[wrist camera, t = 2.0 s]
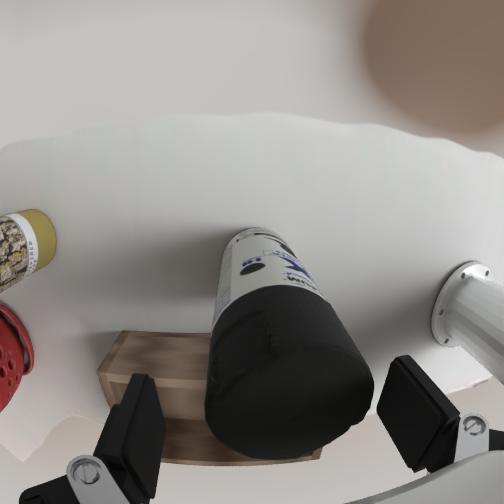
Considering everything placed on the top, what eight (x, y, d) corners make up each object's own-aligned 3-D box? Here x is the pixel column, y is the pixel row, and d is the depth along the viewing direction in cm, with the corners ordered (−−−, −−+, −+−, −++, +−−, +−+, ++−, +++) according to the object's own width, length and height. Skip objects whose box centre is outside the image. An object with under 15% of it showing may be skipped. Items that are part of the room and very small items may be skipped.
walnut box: (319, 329, 31) (341, 372, 23) (306, 415, 34) (319, 458, 27) (122, 330, 30) (96, 371, 22) (145, 415, 33) (132, 458, 25)
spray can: (303, 263, 29) (404, 402, 9) (251, 305, 30) (275, 478, 10) (260, 212, 27) (321, 298, 8) (207, 258, 28) (161, 411, 9)
